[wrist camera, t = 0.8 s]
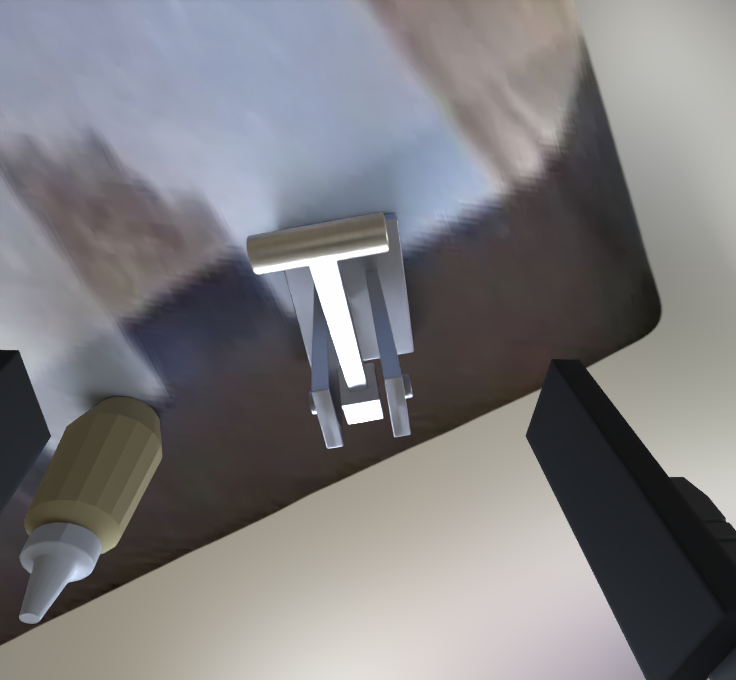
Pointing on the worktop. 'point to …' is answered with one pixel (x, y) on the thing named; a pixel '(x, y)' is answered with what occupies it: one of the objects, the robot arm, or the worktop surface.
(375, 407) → the metal lever
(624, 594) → the robot arm
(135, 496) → the squeeze bottle
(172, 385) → the worktop surface
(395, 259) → the press bracket
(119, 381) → the worktop surface
